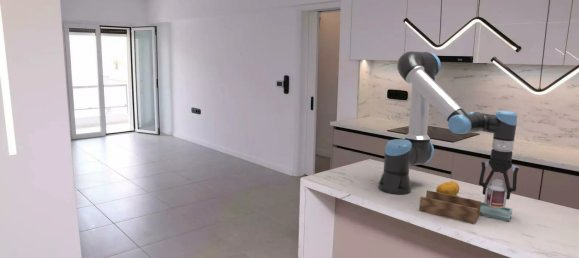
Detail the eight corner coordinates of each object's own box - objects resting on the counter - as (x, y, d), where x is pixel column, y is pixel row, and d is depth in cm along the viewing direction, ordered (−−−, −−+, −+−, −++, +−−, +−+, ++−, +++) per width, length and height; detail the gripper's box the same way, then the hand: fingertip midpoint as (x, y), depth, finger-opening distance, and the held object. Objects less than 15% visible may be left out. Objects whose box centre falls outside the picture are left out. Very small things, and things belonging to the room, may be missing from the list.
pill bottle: (506, 207, 165) (509, 181, 163) (497, 210, 161) (501, 184, 159) (491, 202, 170) (494, 177, 168) (483, 205, 166) (486, 179, 164)
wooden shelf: (419, 210, 166) (420, 196, 165) (425, 203, 174) (427, 190, 173) (475, 224, 154) (477, 209, 153) (479, 215, 163) (481, 201, 162)
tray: (474, 214, 164) (474, 210, 164) (479, 205, 175) (479, 201, 174) (509, 221, 157) (509, 218, 157) (512, 212, 168) (512, 208, 168)
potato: (430, 198, 181) (432, 183, 180) (448, 192, 190) (449, 178, 188) (445, 203, 175) (446, 187, 174) (462, 197, 184) (464, 182, 183)
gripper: (474, 147, 163) (468, 201, 167) (529, 155, 153) (520, 212, 157) (477, 144, 169) (471, 196, 174) (530, 151, 159) (522, 207, 163)
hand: (494, 204), depth 165 cm, fingers closed on pill bottle, 6 cm apart
